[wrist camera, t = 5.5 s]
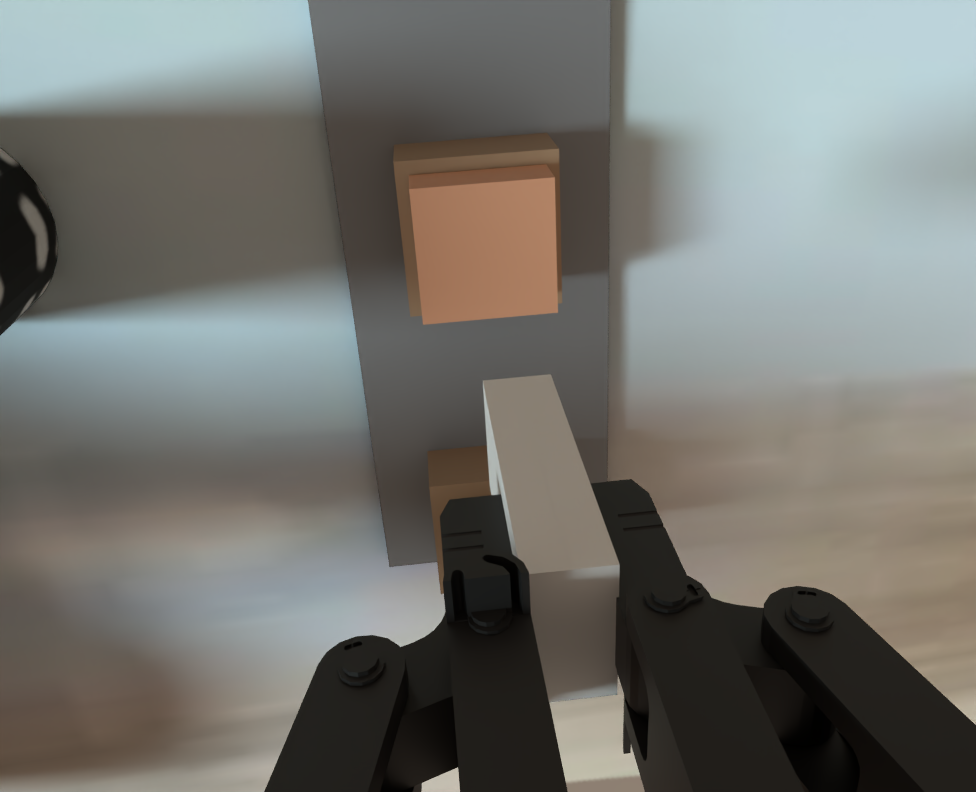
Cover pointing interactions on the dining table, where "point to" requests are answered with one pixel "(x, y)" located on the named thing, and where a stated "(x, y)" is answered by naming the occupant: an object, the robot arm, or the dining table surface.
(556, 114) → the button board
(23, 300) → the spotted tube
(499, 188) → the orange cube
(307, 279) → the dining table surface
